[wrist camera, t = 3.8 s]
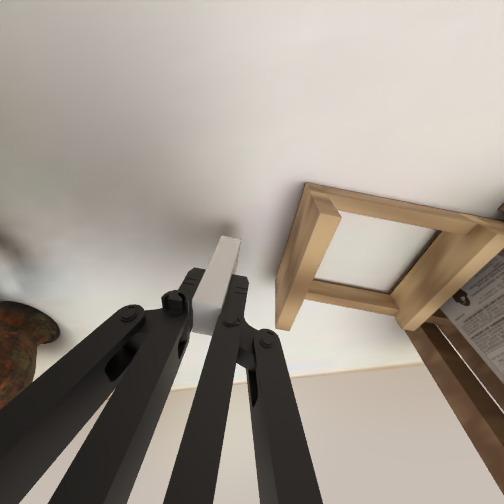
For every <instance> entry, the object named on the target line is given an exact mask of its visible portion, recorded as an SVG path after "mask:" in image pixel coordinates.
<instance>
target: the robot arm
mask: <svg viewBox="0 0 504 504" xmlns="http://www.w3.org/2000/svg"><path fill="white" fill-rule="evenodd" d="M240 242H241V239H237V238H231V237H226V236H221V238H220V240H219V243H218V245H217V247H216V249H215V251H214V253H213V256H212V258H211V260H210V262H209V264H208V267H207V269H206V270H205V269H200V268H195V267H194V268H193V269H192V270H190V271H189V272H188V274H187V275H186V277H185V279H184V281H183V283H182V284H181V286H180V288H179V289H178V290H173V291H169V292H167V293H165V294H164V295H163V296H162V297H161V299H162V306H163V308H161V309H156V310H145V311H144V309H143V308H142V307H141V306H140V305H128V306H125V307H123V308H121V309H119V310H118V311H117V312H116V313H114V314H113V315H112V316H111V317H110V318H108V319H107V320H106V321H105V322H104V323H102V324H101V325H100V326H99V327H98V328H97V329H95V330H94V331H93V332H92V333H91V334H89V335H88V336H87V337H86V338H85V339H83V340H82V341H81V342H80V343H79V344H78V345H76V346H75V347H74V348H73V349H72V350H70V351H69V352H68V353H67V354H66V355H64V356H63V357H62V358H61V359H60V360H59V361H57V362H56V363H55V364H54V365H53V366H51V367H50V368H49V369H48V370H47V371H46V372H44V373H43V374H42V375H41V376H40V377H38V378H37V379H36V380H35V381H34V382H32V383H31V384H30V385H29V386H28V387H27V388H25V389H24V390H23V391H22V392H21V393H19V394H18V395H17V396H16V397H15V398H13V399H12V400H11V401H10V402H9V403H8V404H6V405H5V406H4V407H3V408H2V409H0V504H19V503H20V501H21V500H22V499H23V498H24V497H25V496H26V494H27V493H28V492H29V491H30V490H31V488H32V487H33V486H34V485H35V484H36V482H37V481H38V480H39V479H40V478H41V476H42V475H43V474H44V473H45V472H46V471H47V469H48V468H49V467H50V466H51V464H52V463H53V462H54V461H55V460H56V459H57V457H58V456H59V455H60V454H61V453H62V451H63V450H64V449H65V448H66V446H68V444H69V443H70V442H71V441H72V440H73V438H74V437H75V436H76V435H77V434H78V432H79V431H80V430H81V429H82V428H83V426H84V425H85V424H86V423H87V422H88V420H89V419H90V418H91V417H92V416H93V414H94V413H95V412H96V411H97V410H98V409H99V407H100V406H101V405H102V404H103V403H104V401H105V400H106V399H107V398H108V397H109V395H110V394H111V393H112V392H113V391H114V392H113V394H112V395H111V397H110V399H109V401H108V402H107V404H106V406H105V407H104V409H103V411H102V412H101V414H100V416H99V418H98V419H97V421H96V423H95V424H94V426H93V428H92V429H91V431H90V433H89V435H88V436H87V438H86V440H85V441H84V443H83V445H82V446H81V448H80V450H79V451H78V453H77V455H76V457H75V458H74V460H73V462H72V463H71V465H70V467H69V468H68V470H67V472H66V474H65V475H64V477H63V479H62V480H61V482H60V484H59V486H58V487H57V489H56V491H55V492H54V494H53V496H52V497H51V499H50V501H49V502H48V504H127V501H128V498H129V496H130V493H131V491H132V488H133V486H134V483H135V480H136V478H137V475H138V472H139V470H140V467H141V465H142V462H143V460H144V457H145V454H146V452H147V449H148V447H149V444H150V441H151V439H152V436H153V433H154V431H155V428H156V426H157V423H158V421H159V418H160V415H161V413H162V410H163V408H164V405H165V402H166V400H167V397H168V395H169V392H170V389H171V387H172V384H173V382H174V379H175V377H176V374H177V371H178V369H179V366H180V364H181V361H182V358H183V356H184V353H185V351H186V348H187V345H188V343H189V338H190V332H191V330H192V332H195V333H200V334H205V335H211V336H212V339H211V342H210V346H209V349H208V352H207V356H206V359H205V363H204V366H203V369H202V373H201V376H200V380H199V383H198V386H197V390H196V393H195V397H194V400H193V403H192V407H191V410H190V414H189V417H188V420H187V424H186V427H185V431H184V434H183V438H182V441H181V444H180V448H179V451H178V454H177V458H176V461H175V465H174V468H173V471H172V475H171V478H170V482H169V485H168V488H167V492H166V495H165V499H164V502H163V504H213V499H214V494H215V488H216V482H217V476H218V469H219V463H220V457H221V451H222V445H223V439H224V432H225V427H226V421H227V415H228V409H229V403H230V397H231V391H232V385H233V378H234V372H235V366H236V363H238V364H239V365H241V366H243V367H244V368H246V374H247V384H248V393H249V402H250V411H251V422H252V430H253V440H254V450H255V460H256V468H257V479H258V487H259V498H260V504H323V502H322V498H321V494H320V490H319V487H318V483H317V479H316V476H315V471H314V468H313V464H312V460H311V456H310V453H309V449H308V445H307V441H306V437H305V433H304V430H303V426H302V422H301V418H300V415H299V411H298V407H297V403H296V399H295V396H294V392H293V388H292V384H291V380H290V377H289V373H288V369H287V365H286V361H285V358H284V354H283V350H282V346H281V342H280V339H279V337H278V335H277V334H276V333H275V332H274V331H272V330H270V329H260V330H259V331H258V330H256V329H254V328H253V327H251V326H250V325H248V324H247V322H246V321H245V319H244V309H245V303H246V297H247V291H248V285H249V282H248V279H247V277H244V276H239V275H235V271H236V267H237V261H238V255H239V248H240ZM115 388H116V389H115Z"/></svg>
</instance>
